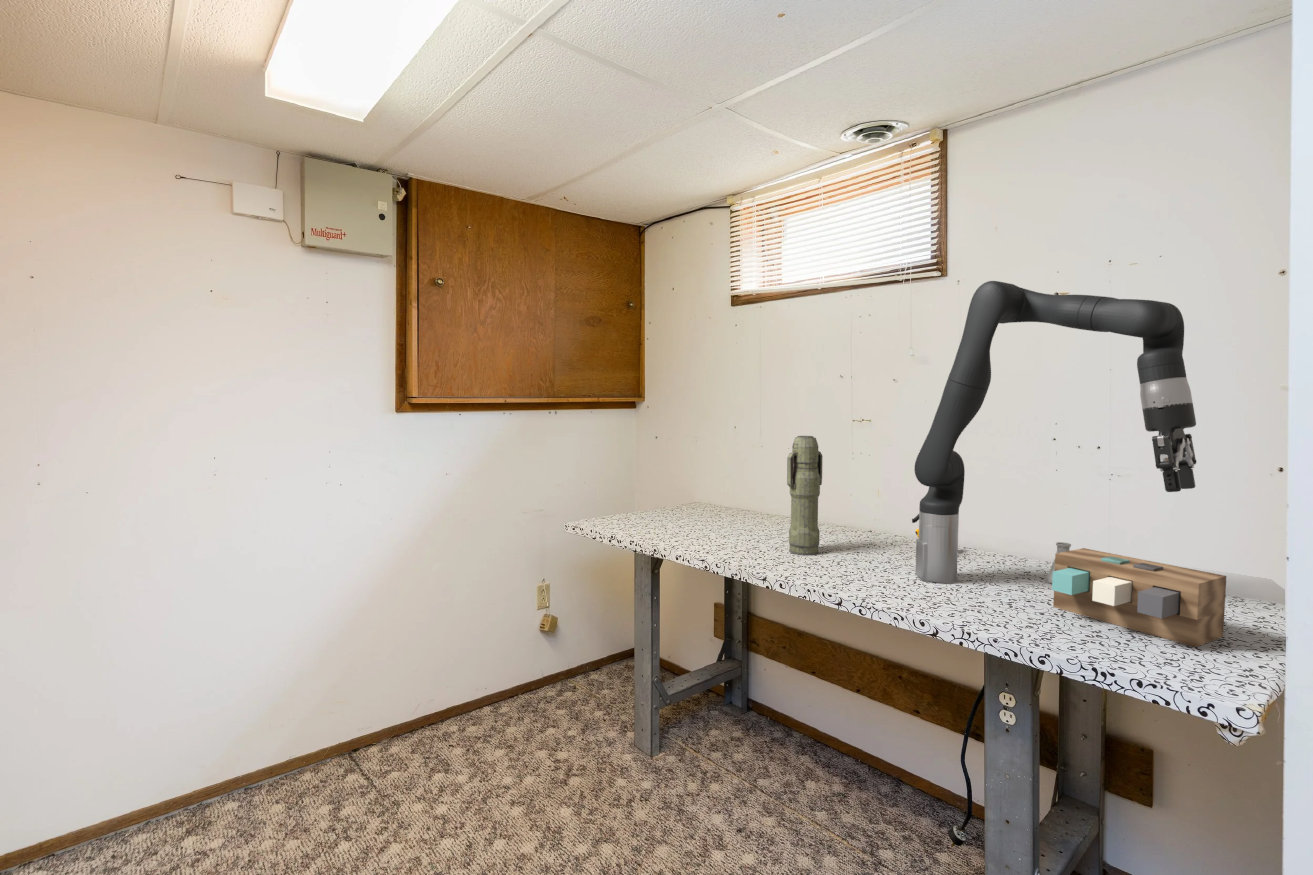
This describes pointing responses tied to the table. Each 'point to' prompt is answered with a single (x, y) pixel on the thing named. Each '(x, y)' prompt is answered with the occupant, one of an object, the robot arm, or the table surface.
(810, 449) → the thermos
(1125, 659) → the table surface
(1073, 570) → the key teal
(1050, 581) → the flask
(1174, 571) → the block
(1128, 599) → the key ivory
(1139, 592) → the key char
